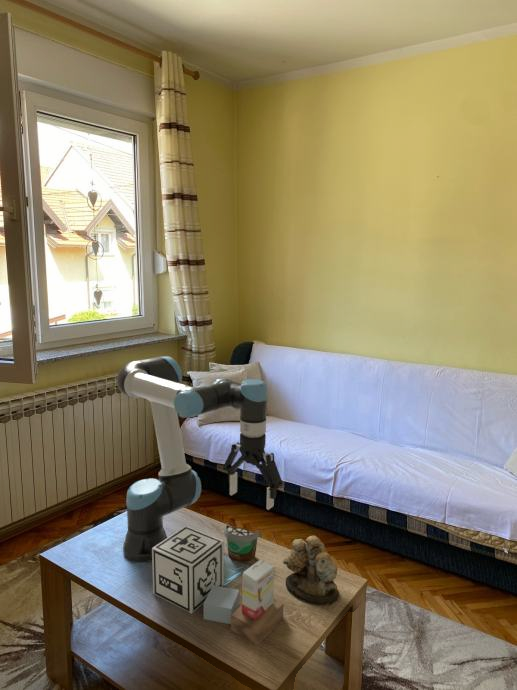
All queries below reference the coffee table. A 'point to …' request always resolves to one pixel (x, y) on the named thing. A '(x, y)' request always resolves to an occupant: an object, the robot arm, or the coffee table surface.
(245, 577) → the ink box
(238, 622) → the walnut block
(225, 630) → the coffee table surface
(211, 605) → the slate block
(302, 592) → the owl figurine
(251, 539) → the food container
